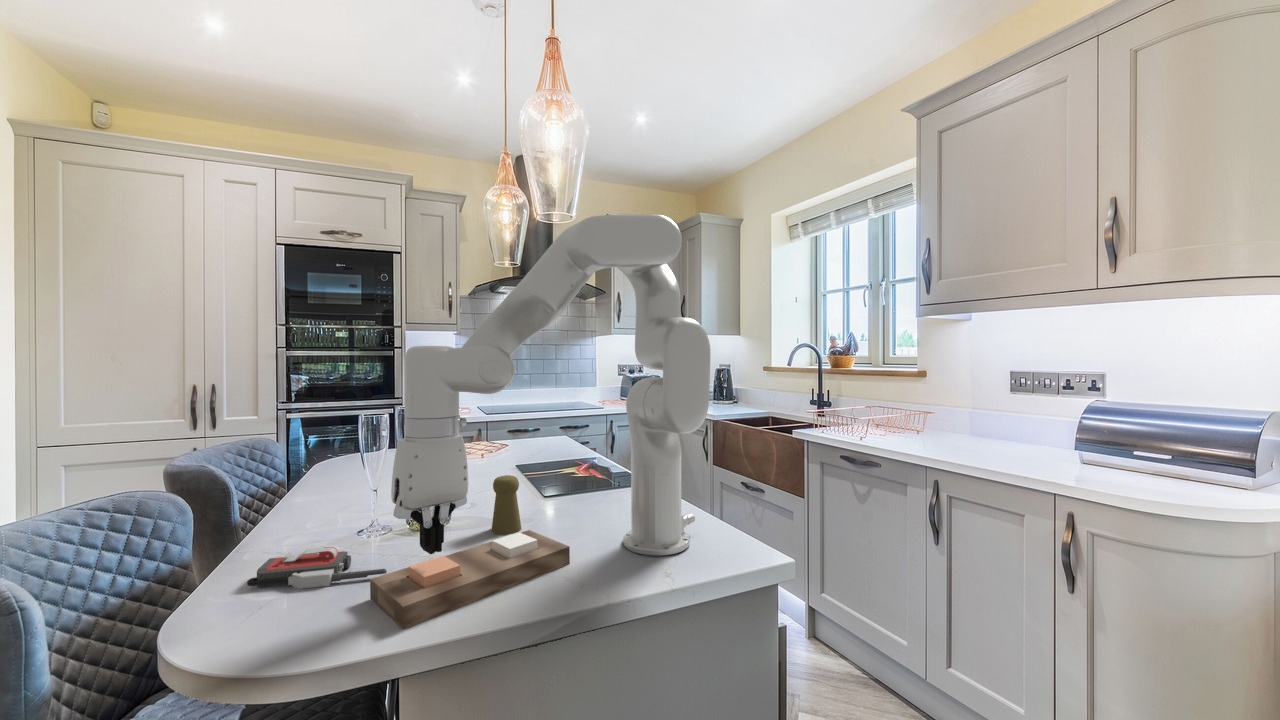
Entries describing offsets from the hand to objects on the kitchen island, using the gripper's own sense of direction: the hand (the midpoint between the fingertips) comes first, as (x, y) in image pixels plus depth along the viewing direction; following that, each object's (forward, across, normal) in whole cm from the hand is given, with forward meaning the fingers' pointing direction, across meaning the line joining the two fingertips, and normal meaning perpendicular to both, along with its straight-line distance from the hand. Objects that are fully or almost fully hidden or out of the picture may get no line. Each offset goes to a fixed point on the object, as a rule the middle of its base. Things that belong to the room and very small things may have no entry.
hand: (431, 550), depth 76 cm
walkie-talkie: (+8, +9, -20) cm, 23 cm away
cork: (+7, -23, -17) cm, 30 cm away
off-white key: (+5, -14, 0) cm, 15 cm away
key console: (+7, -7, 0) cm, 10 cm away
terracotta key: (+5, 0, 0) cm, 5 cm away
